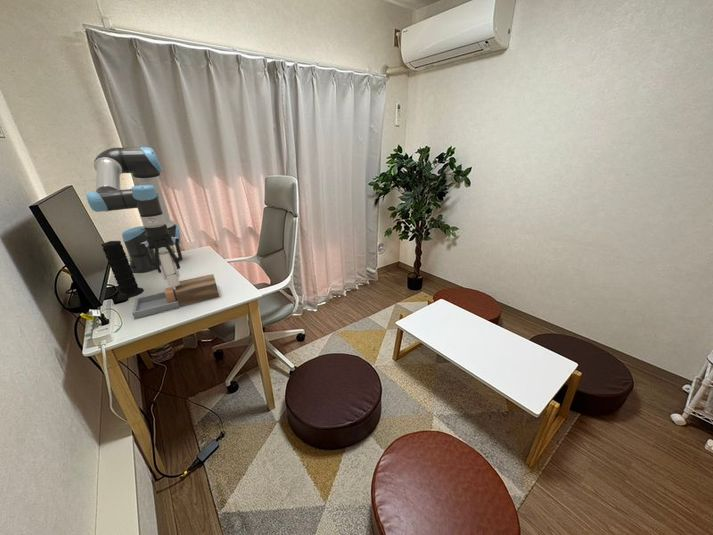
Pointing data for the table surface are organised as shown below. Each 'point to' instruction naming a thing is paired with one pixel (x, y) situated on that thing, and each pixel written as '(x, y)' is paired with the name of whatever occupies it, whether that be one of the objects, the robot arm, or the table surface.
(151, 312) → the box
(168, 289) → the terracotta tile
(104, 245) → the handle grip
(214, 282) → the walnut ledge
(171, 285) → the tube
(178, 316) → the table surface
